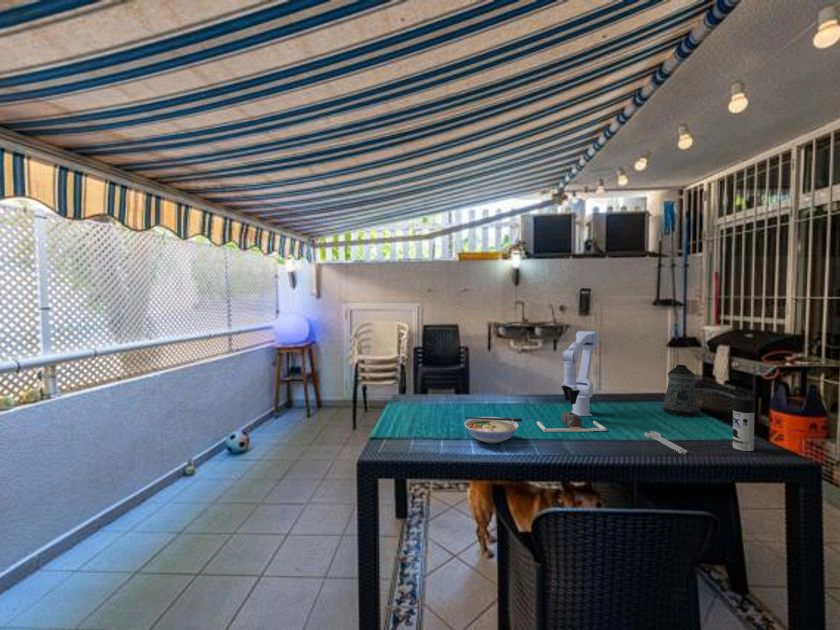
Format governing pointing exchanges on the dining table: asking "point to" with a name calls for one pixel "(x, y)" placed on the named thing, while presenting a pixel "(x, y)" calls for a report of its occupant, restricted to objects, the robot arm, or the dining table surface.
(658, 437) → the adjustable wrench
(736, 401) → the spray can
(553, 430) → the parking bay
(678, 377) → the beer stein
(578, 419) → the perforated stone tool
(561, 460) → the dining table surface
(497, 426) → the ramen bowl
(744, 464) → the dining table surface
